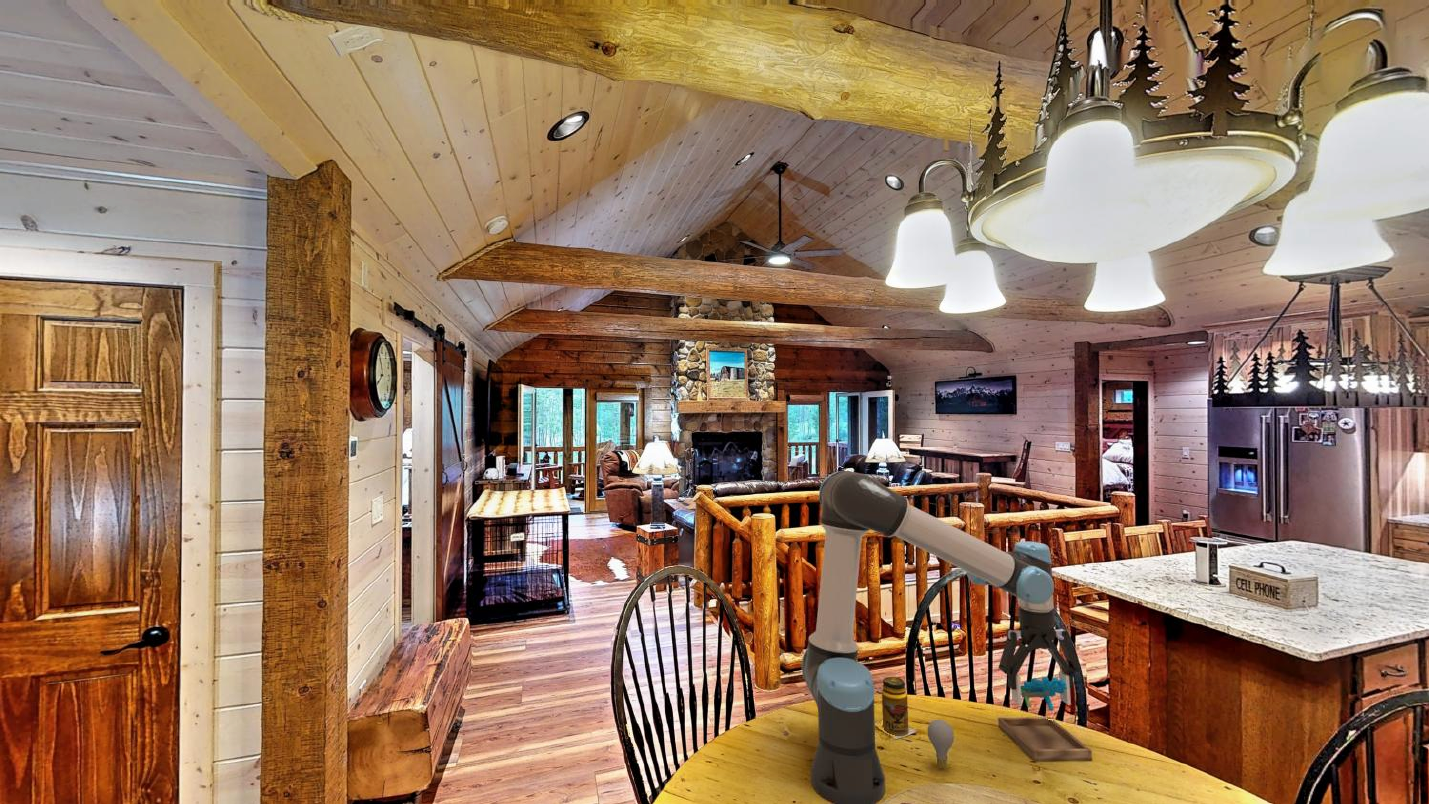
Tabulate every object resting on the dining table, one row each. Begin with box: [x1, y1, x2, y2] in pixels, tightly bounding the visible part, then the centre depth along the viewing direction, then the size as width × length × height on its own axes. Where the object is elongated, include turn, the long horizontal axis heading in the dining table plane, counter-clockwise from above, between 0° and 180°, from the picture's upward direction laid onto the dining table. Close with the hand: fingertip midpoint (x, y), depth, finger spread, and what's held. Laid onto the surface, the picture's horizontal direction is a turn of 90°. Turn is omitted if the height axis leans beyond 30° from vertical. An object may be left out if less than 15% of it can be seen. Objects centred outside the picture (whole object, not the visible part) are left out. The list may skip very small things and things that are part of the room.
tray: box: [997, 716, 1093, 763], centre depth 130 cm, size 13×15×2 cm
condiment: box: [875, 676, 918, 740], centre depth 137 cm, size 7×8×12 cm
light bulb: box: [927, 718, 955, 770], centre depth 120 cm, size 6×6×10 cm
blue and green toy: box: [1021, 676, 1067, 711], centre depth 129 cm, size 11×6×10 cm
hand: (1041, 702), depth 130 cm, fingers closed on blue and green toy, 11 cm apart
